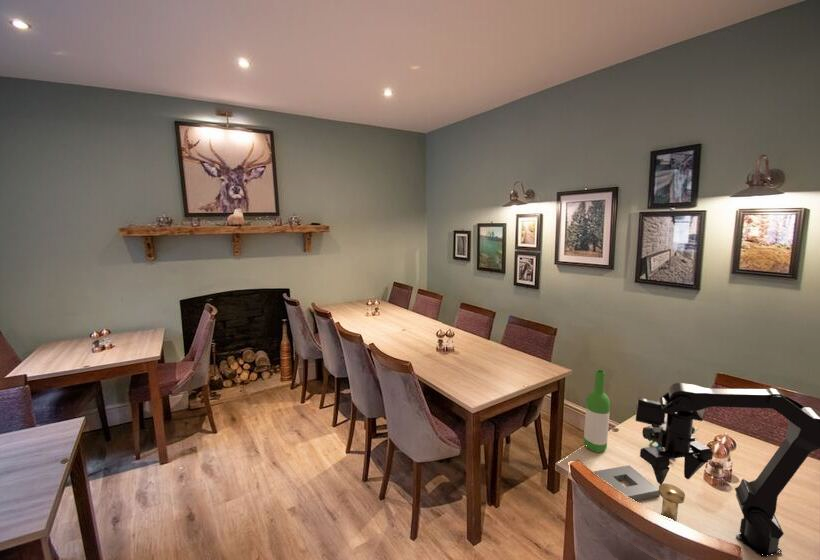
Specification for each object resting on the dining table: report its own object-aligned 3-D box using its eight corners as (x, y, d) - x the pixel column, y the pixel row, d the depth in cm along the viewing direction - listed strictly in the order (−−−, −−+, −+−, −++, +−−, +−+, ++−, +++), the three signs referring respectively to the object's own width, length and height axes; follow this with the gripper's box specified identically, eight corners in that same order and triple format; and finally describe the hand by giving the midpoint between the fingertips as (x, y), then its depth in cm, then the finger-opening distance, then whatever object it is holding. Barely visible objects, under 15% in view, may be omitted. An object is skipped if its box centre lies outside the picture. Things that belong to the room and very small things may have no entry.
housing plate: (659, 495, 113) (660, 490, 112) (620, 503, 110) (620, 497, 110) (628, 470, 124) (629, 465, 124) (592, 476, 121) (593, 471, 121)
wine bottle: (591, 438, 143) (596, 365, 138) (610, 448, 136) (617, 372, 132) (579, 445, 139) (584, 370, 134) (599, 456, 132) (604, 377, 127)
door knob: (687, 522, 103) (690, 496, 102) (669, 526, 102) (672, 500, 100) (668, 506, 109) (671, 481, 107) (651, 509, 107) (653, 485, 106)
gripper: (679, 411, 111) (674, 458, 113) (626, 418, 107) (622, 467, 109) (717, 431, 100) (710, 483, 102) (659, 440, 96) (654, 494, 99)
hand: (673, 480), depth 103 cm, fingers open, 9 cm apart
